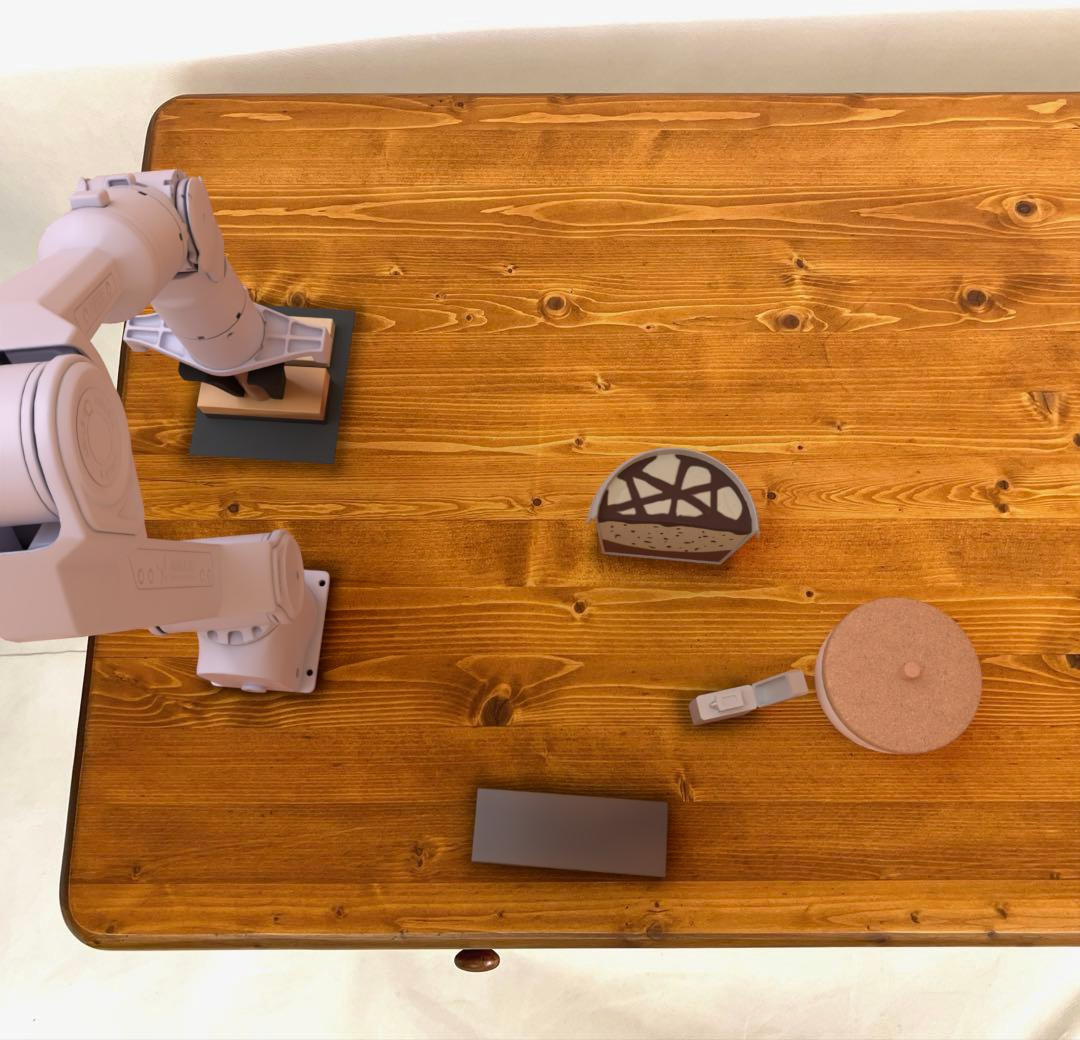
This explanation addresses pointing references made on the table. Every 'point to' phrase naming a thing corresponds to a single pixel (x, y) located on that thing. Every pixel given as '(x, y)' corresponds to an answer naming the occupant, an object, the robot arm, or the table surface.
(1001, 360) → the table surface
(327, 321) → the chip right
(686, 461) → the brown half-round block
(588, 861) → the dark grey rectangular block
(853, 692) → the trinket box
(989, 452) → the table surface
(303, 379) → the brown block with peg
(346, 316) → the mat
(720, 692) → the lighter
